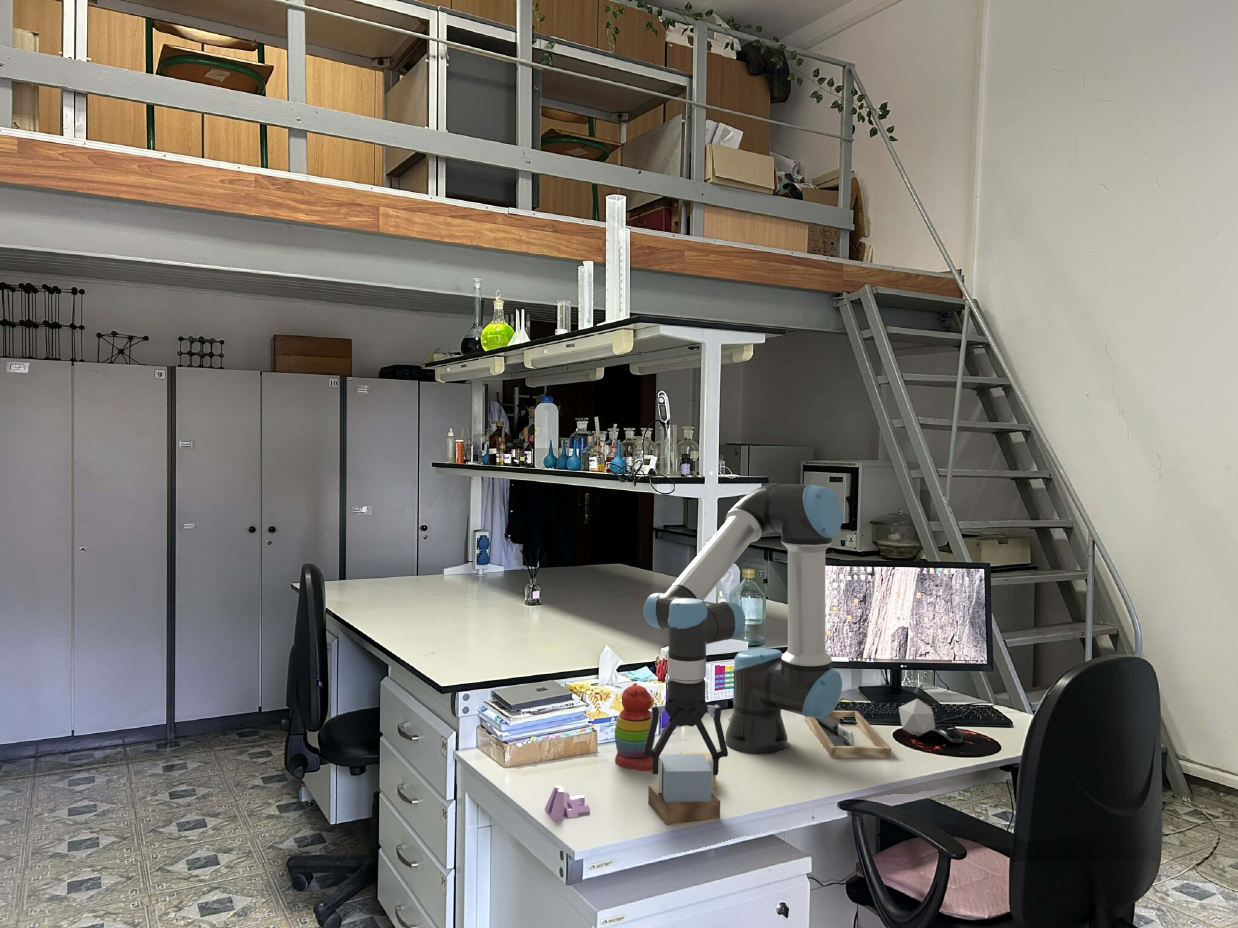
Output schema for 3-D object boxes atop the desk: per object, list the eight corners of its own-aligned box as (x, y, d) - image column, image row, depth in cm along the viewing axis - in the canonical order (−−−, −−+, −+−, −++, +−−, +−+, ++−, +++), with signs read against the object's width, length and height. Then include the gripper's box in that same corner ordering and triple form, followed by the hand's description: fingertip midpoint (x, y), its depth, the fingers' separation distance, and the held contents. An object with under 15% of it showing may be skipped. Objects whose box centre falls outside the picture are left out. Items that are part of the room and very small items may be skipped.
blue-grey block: (703, 782, 173) (703, 753, 173) (711, 801, 164) (711, 770, 164) (659, 783, 172) (660, 754, 172) (665, 802, 163) (665, 771, 163)
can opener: (860, 754, 204) (861, 733, 204) (835, 755, 203) (836, 734, 203) (828, 728, 223) (828, 709, 223) (805, 728, 222) (805, 709, 222)
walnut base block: (698, 803, 175) (698, 779, 175) (719, 826, 165) (720, 800, 164) (648, 808, 172) (648, 784, 172) (666, 832, 161) (667, 806, 161)
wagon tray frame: (857, 721, 227) (857, 710, 227) (890, 760, 199) (890, 748, 199) (804, 721, 227) (805, 710, 227) (831, 759, 199) (831, 747, 199)
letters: (581, 807, 172) (581, 778, 172) (591, 821, 166) (591, 791, 165) (542, 812, 169) (543, 782, 169) (551, 827, 163) (552, 796, 163)
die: (937, 735, 218) (938, 696, 218) (929, 745, 210) (930, 705, 210) (903, 729, 222) (904, 691, 222) (894, 738, 215) (895, 699, 215)
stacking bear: (653, 772, 190) (655, 693, 190) (609, 768, 192) (610, 690, 192) (661, 755, 201) (662, 680, 200) (619, 751, 203) (620, 677, 202)
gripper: (739, 673, 171) (737, 783, 172) (630, 672, 171) (629, 781, 172) (744, 684, 164) (742, 798, 164) (631, 682, 164) (629, 797, 164)
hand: (684, 790), depth 168 cm, fingers closed on blue-grey block, 9 cm apart
